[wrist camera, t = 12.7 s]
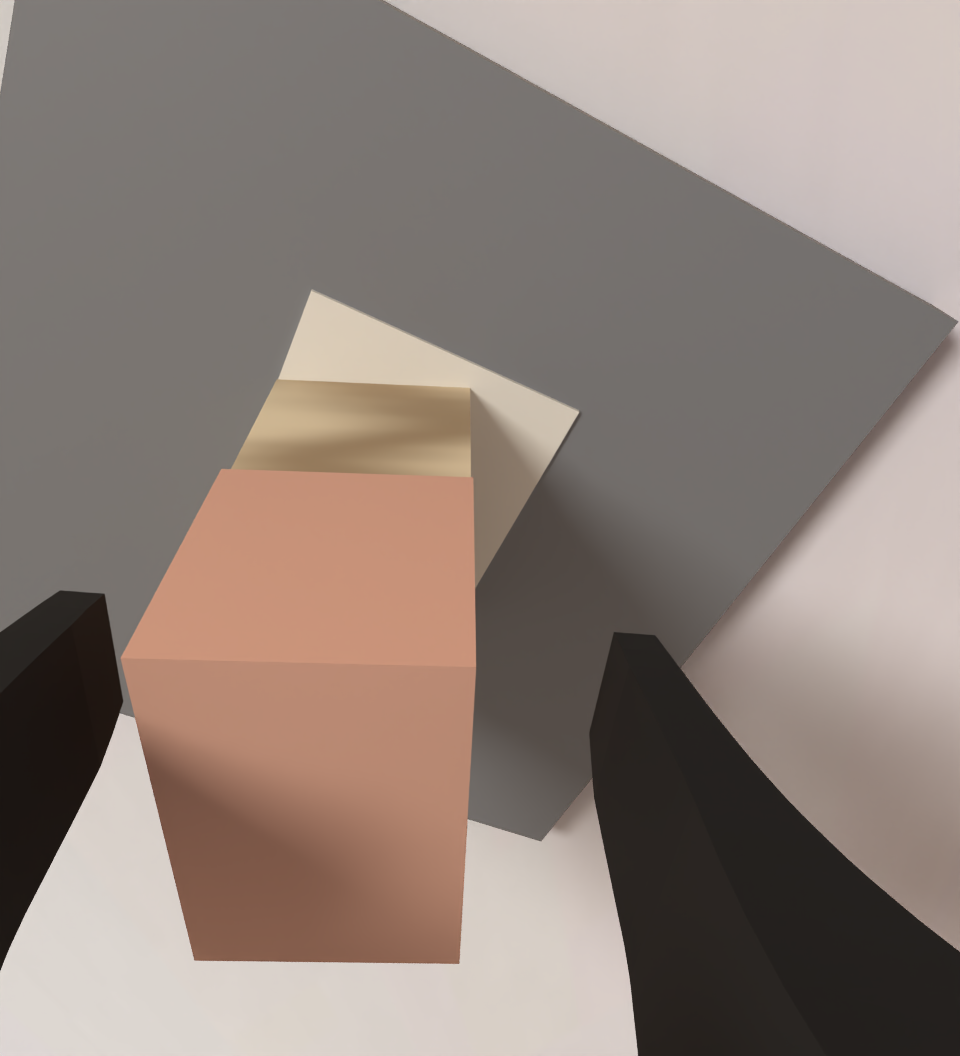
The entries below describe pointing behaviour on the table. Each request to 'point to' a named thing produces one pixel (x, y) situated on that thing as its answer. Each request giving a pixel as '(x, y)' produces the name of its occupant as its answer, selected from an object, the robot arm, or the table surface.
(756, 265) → the baseplate
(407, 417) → the maple brick
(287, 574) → the terracotta brick
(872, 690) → the table surface
